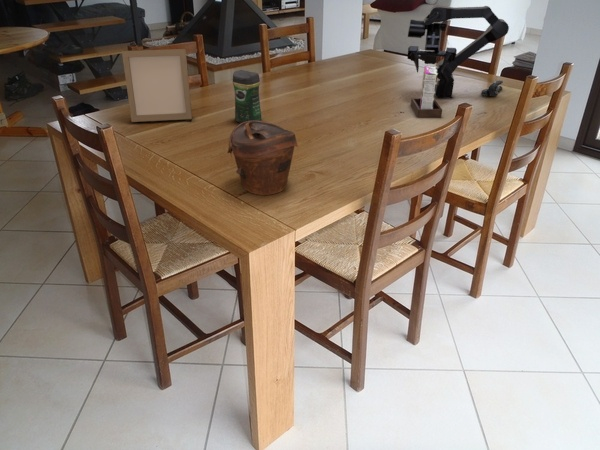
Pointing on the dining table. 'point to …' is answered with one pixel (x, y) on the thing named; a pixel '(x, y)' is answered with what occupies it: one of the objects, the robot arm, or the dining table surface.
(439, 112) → the compartment
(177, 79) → the photo frame
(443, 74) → the robot arm
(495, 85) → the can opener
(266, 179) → the brown bucket
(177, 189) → the dining table surface
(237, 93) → the coffee jar
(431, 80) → the candy bar box
